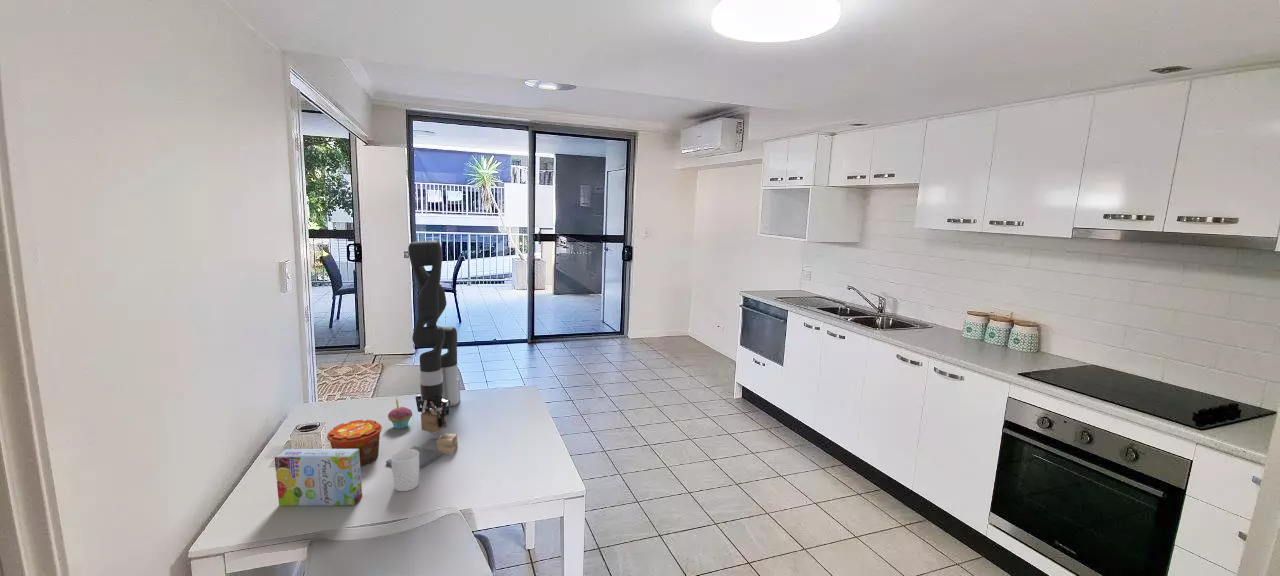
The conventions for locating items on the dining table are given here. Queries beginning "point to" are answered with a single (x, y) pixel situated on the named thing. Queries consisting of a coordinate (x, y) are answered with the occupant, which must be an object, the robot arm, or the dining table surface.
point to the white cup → (405, 469)
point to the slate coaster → (423, 456)
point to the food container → (357, 438)
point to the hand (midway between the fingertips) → (434, 424)
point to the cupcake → (400, 416)
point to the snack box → (318, 477)
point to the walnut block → (431, 421)
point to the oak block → (447, 443)
